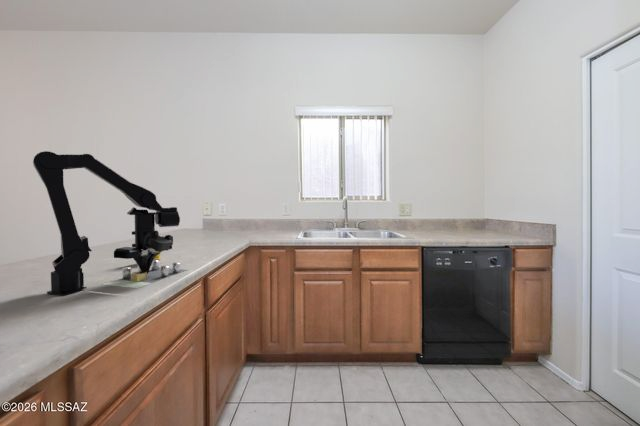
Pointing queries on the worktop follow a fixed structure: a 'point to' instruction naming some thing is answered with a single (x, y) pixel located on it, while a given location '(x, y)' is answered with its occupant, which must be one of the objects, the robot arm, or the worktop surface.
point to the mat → (151, 278)
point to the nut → (139, 276)
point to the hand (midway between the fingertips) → (145, 274)
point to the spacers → (153, 269)
